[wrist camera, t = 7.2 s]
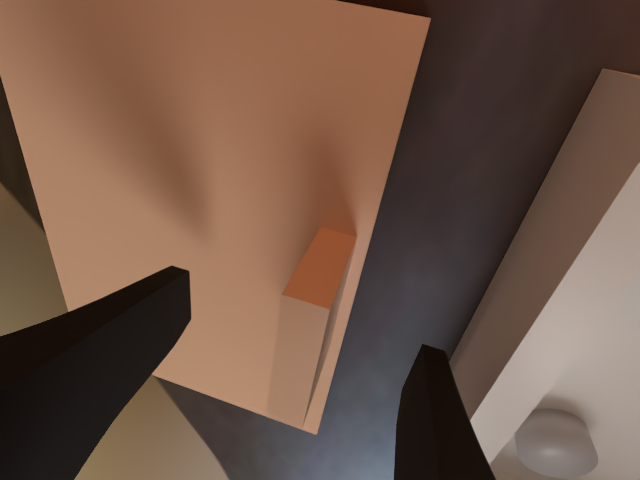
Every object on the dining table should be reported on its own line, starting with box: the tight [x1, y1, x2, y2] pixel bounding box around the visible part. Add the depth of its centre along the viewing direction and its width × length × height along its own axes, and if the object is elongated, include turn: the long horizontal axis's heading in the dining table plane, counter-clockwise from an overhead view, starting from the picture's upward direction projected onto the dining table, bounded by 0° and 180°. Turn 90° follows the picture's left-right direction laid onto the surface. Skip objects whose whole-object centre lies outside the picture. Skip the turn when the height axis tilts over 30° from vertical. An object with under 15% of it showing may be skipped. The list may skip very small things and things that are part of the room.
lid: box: [0, 0, 431, 435], centre depth 13 cm, size 17×13×5 cm
